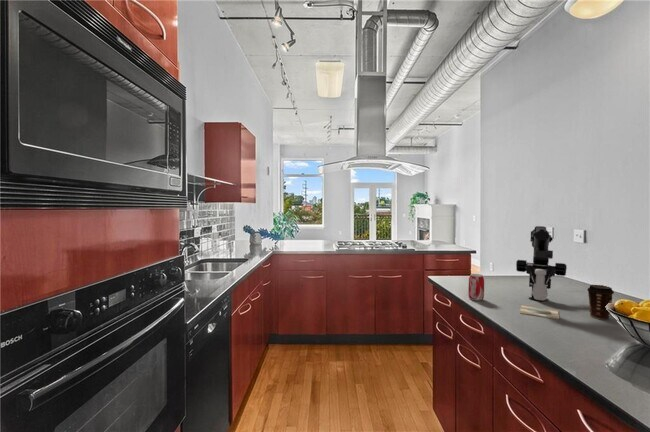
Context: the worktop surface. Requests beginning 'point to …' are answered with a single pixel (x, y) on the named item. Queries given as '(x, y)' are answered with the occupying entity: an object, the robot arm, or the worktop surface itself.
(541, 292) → the salt shaker
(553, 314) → the board
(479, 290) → the soda can
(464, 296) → the worktop surface
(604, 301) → the coffee cup
